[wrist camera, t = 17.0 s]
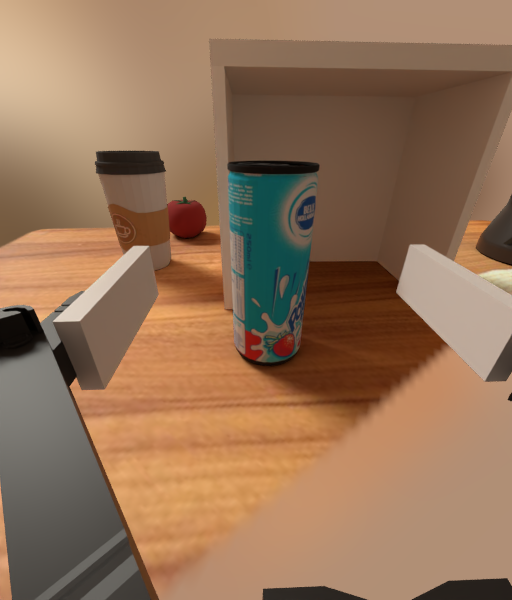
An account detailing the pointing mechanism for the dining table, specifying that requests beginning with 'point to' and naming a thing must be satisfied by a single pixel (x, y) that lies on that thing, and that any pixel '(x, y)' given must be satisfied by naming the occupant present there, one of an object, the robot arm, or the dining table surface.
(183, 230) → the tomato
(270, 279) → the beverage can
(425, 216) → the open box
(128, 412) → the dining table surface
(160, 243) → the coffee cup
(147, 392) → the dining table surface
